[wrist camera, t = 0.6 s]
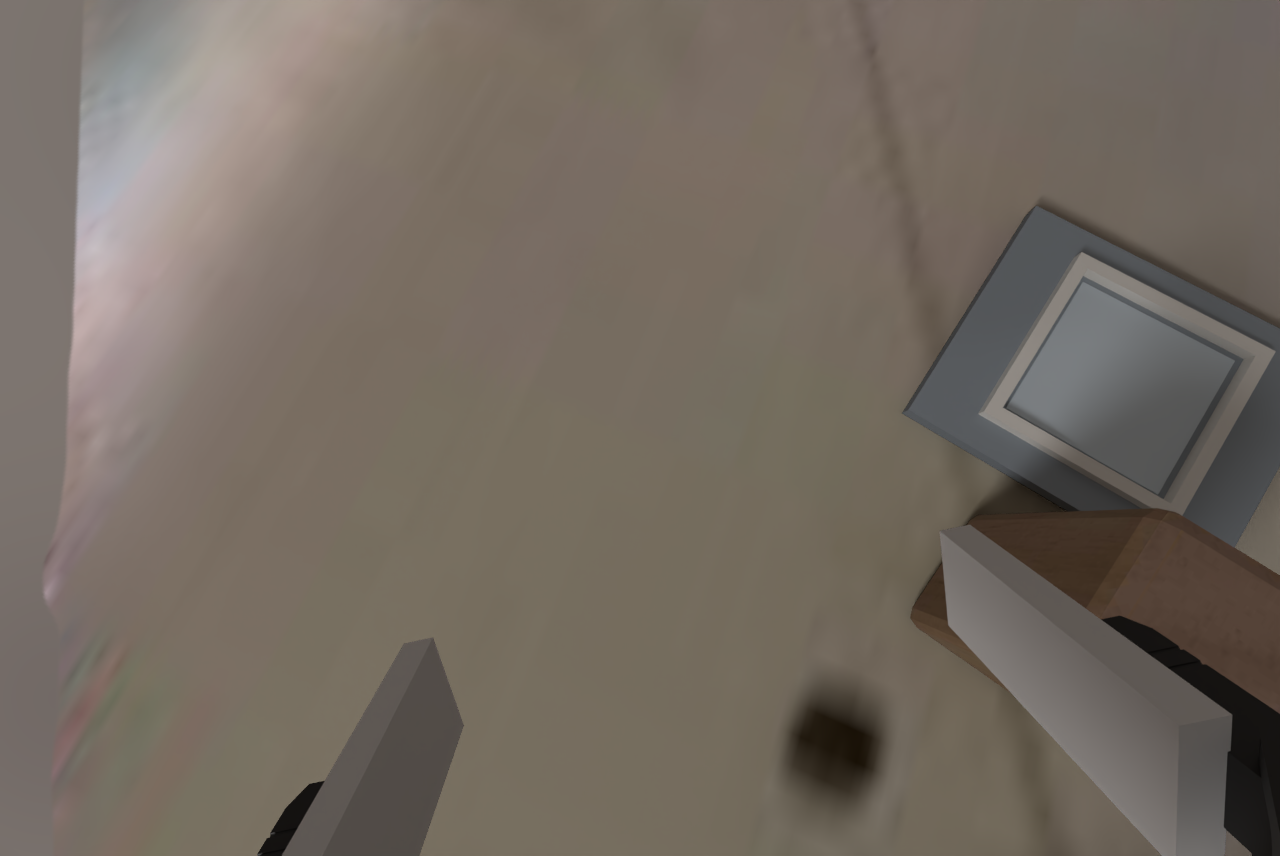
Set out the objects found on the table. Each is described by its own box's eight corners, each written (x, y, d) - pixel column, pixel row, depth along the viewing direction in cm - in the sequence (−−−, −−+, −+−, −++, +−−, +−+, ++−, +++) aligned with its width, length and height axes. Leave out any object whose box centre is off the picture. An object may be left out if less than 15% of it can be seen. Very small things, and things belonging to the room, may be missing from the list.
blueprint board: (1319, 364, 46) (1354, 355, 43) (1194, 586, 44) (1223, 589, 42) (1026, 215, 50) (1043, 198, 47) (902, 413, 48) (912, 407, 46)
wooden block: (971, 509, 46) (1171, 498, 27) (1091, 588, 45) (1398, 637, 25) (900, 616, 46) (1053, 686, 26) (1020, 700, 44) (1280, 841, 24)
